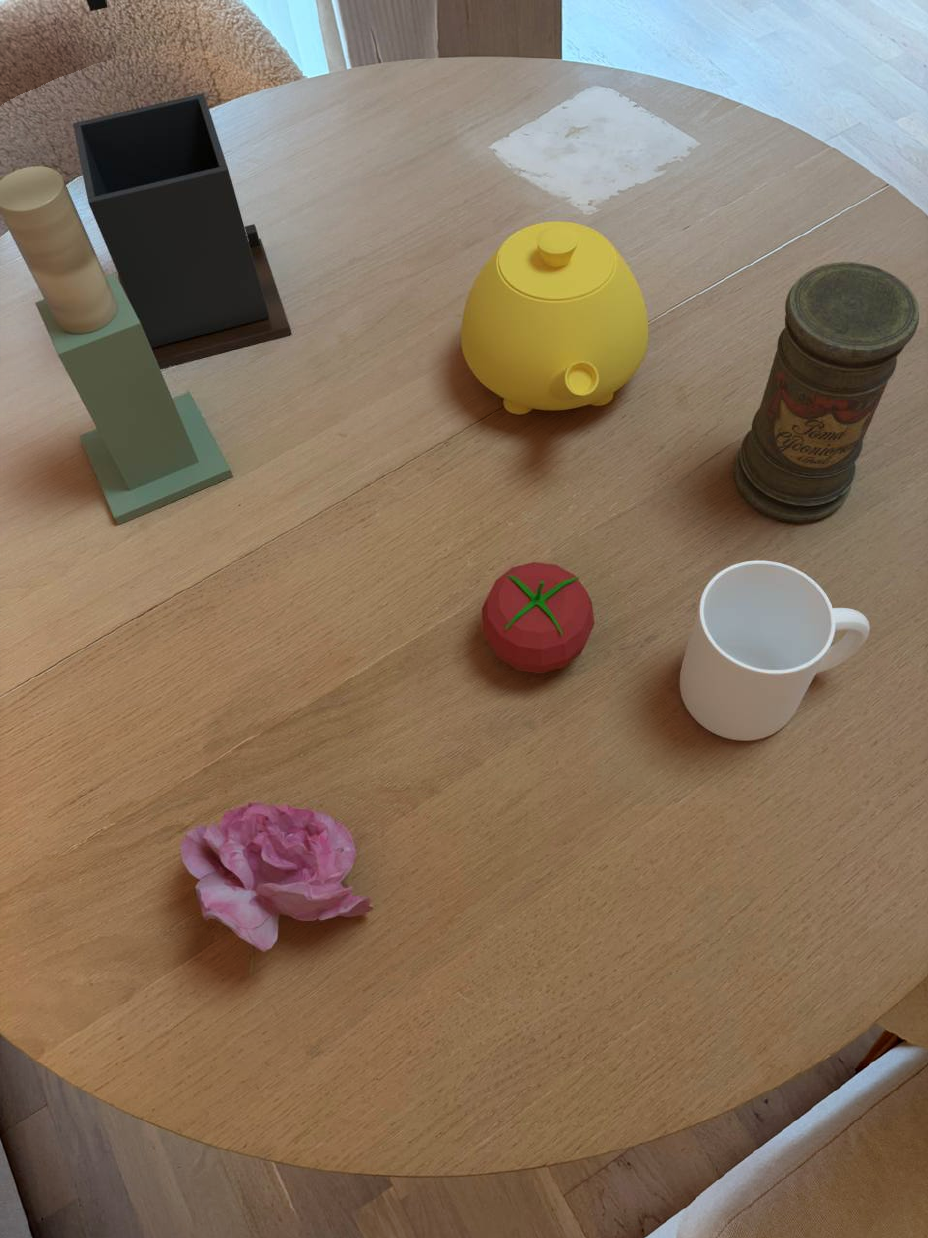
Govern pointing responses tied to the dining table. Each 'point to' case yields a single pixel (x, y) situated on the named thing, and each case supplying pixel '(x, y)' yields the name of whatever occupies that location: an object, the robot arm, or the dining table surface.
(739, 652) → the mug
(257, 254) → the bin stand
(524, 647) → the tomato
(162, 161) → the bin
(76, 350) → the pedestal
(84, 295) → the cylinder
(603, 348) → the teapot
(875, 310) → the container
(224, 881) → the flower
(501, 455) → the dining table surface
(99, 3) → the robot arm
